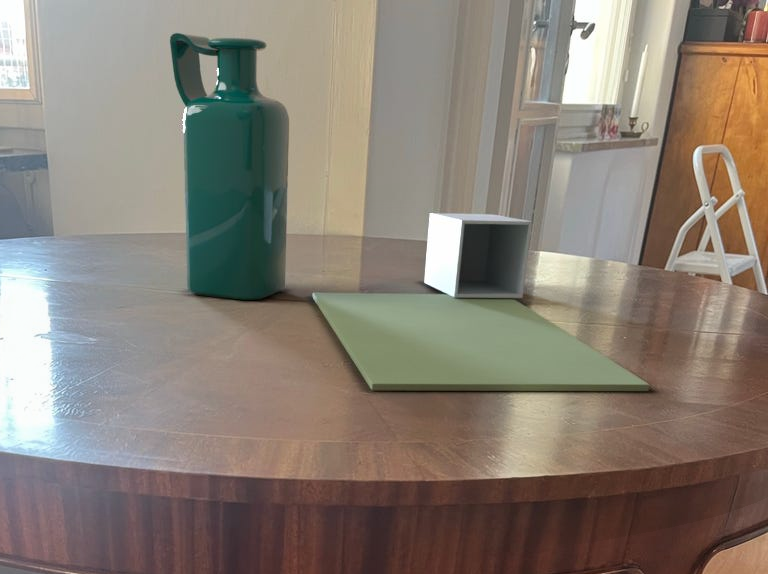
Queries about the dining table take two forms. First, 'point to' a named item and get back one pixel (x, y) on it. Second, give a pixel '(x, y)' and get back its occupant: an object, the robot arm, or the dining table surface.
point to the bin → (477, 255)
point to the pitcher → (232, 172)
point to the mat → (464, 345)
